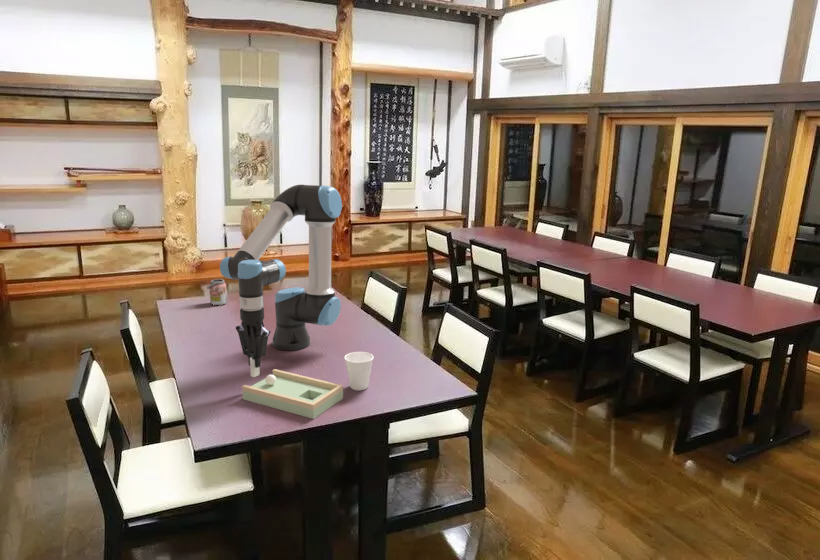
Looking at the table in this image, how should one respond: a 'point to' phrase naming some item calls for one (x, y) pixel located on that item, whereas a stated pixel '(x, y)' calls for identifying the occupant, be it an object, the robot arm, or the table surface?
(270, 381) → the ball
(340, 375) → the table surface
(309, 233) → the robot arm
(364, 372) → the cup
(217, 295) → the beverage can
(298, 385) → the green tray with hole
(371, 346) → the table surface
